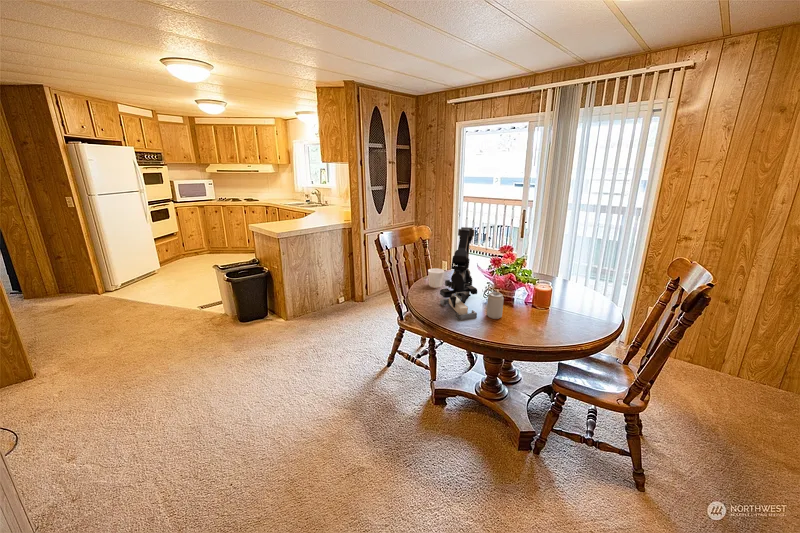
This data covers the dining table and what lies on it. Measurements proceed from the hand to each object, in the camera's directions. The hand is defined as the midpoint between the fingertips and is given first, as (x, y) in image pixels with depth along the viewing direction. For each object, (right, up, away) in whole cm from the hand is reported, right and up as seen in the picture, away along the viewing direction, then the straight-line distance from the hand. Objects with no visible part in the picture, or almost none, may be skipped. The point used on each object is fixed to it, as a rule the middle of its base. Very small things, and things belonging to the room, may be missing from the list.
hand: (457, 307), depth 172 cm
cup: (-7, +9, +38) cm, 39 cm away
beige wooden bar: (0, -1, 0) cm, 1 cm away
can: (+17, -4, -6) cm, 19 cm away
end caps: (0, -2, +1) cm, 2 cm away
